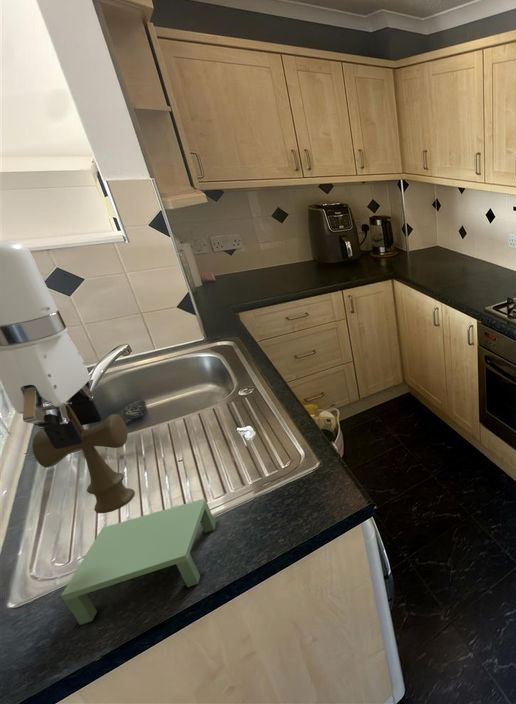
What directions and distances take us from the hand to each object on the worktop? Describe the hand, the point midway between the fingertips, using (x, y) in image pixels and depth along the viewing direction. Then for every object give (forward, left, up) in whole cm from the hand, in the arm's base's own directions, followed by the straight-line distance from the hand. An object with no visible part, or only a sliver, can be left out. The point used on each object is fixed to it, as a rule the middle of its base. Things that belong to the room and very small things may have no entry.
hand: (79, 432), depth 65 cm
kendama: (0, 0, -15) cm, 15 cm away
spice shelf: (+2, -2, -30) cm, 30 cm away
